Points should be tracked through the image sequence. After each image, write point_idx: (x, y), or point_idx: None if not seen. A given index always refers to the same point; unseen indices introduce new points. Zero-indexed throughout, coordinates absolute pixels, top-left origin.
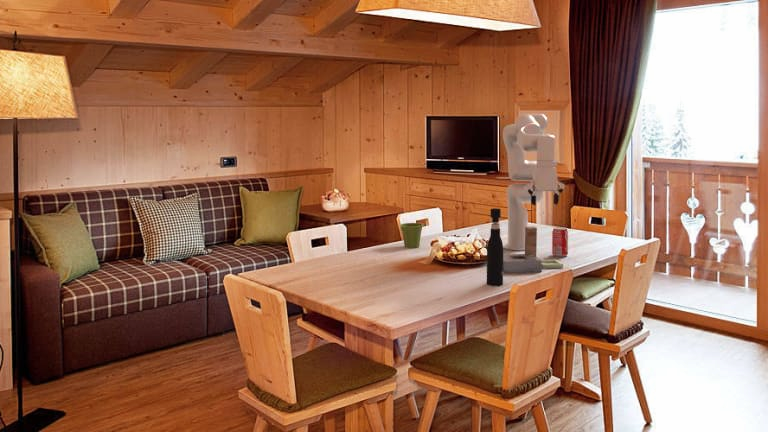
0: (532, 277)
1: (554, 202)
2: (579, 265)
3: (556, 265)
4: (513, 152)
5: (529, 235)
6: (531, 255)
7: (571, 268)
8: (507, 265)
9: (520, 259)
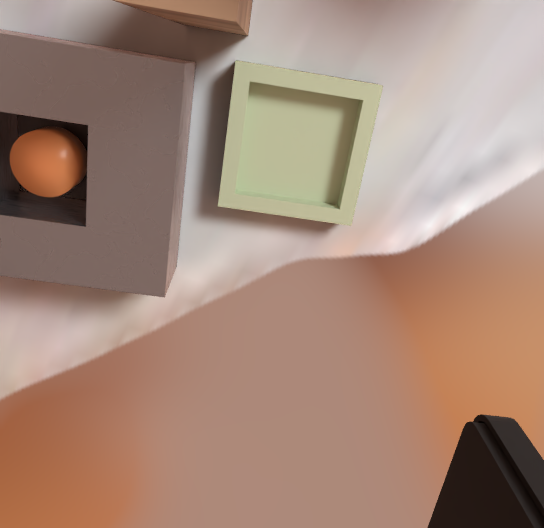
0: (79, 355)
1: (462, 488)
2: (480, 187)
3: (306, 216)
4: None
5: (154, 11)
6: (157, 134)
7: (385, 242)
8: None
9: (29, 232)
